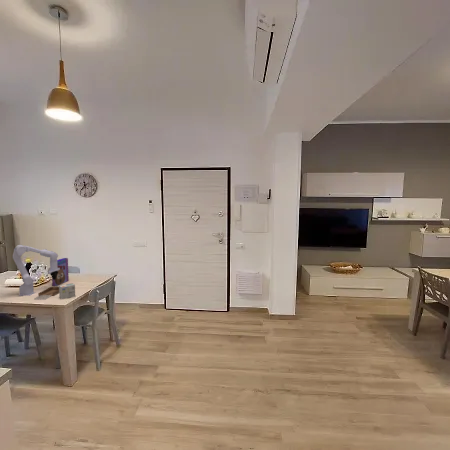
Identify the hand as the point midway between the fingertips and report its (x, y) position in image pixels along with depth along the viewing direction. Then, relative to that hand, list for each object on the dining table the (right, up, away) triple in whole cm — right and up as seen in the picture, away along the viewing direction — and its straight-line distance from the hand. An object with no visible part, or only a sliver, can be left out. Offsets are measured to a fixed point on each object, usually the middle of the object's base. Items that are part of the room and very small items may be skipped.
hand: (54, 279), depth 243 cm
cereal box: (-6, -8, +19) cm, 21 cm away
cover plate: (+5, -12, -22) cm, 26 cm away
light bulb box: (+23, -12, -19) cm, 32 cm away
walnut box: (+5, -10, -10) cm, 15 cm away
